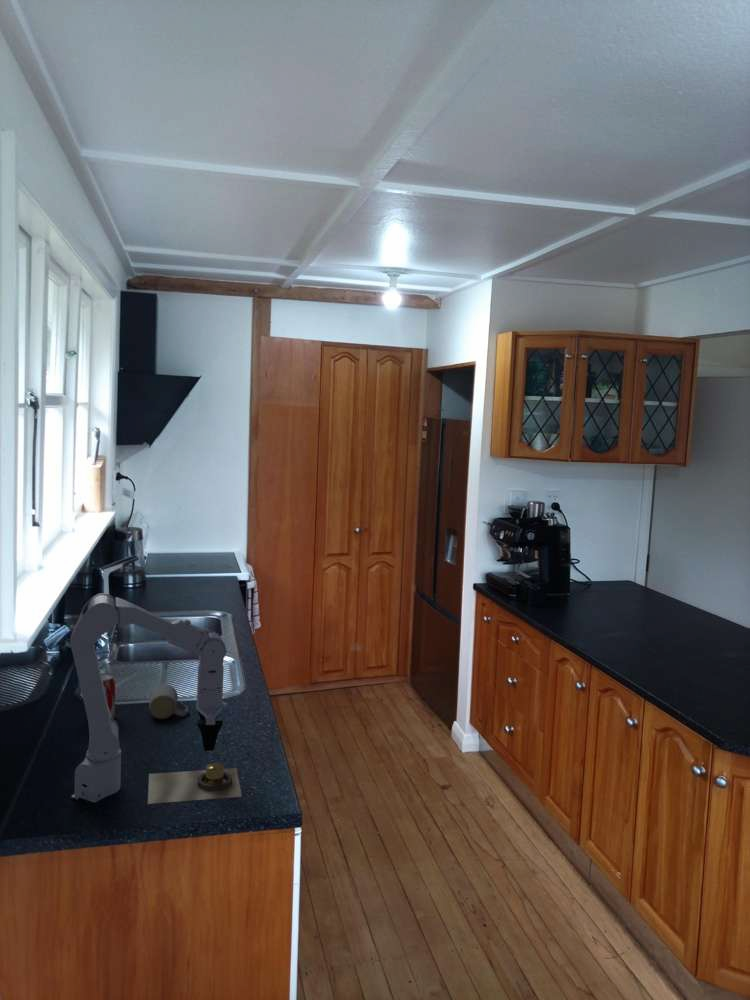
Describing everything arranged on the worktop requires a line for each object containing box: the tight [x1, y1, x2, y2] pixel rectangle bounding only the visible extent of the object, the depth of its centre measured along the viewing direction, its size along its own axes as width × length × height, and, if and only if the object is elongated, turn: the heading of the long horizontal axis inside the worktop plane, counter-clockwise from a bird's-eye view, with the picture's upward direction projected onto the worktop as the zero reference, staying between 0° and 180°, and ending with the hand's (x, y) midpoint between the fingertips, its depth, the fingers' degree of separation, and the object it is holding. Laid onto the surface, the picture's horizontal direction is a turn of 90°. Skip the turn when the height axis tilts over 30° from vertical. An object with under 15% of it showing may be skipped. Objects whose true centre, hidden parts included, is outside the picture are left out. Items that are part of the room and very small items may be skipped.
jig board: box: [147, 767, 243, 805], centre depth 175 cm, size 20×14×2 cm
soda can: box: [101, 672, 116, 719], centre depth 210 cm, size 7×7×12 cm
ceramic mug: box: [148, 683, 189, 720], centre depth 216 cm, size 11×8×8 cm
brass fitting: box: [205, 762, 225, 785], centre depth 176 cm, size 4×4×4 cm
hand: (208, 742), depth 178 cm, fingers open, 7 cm apart
